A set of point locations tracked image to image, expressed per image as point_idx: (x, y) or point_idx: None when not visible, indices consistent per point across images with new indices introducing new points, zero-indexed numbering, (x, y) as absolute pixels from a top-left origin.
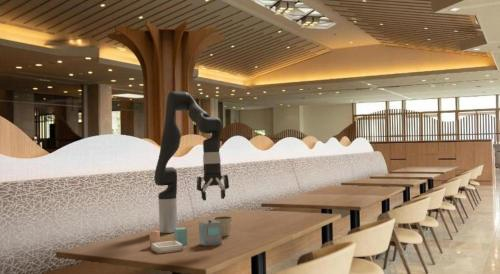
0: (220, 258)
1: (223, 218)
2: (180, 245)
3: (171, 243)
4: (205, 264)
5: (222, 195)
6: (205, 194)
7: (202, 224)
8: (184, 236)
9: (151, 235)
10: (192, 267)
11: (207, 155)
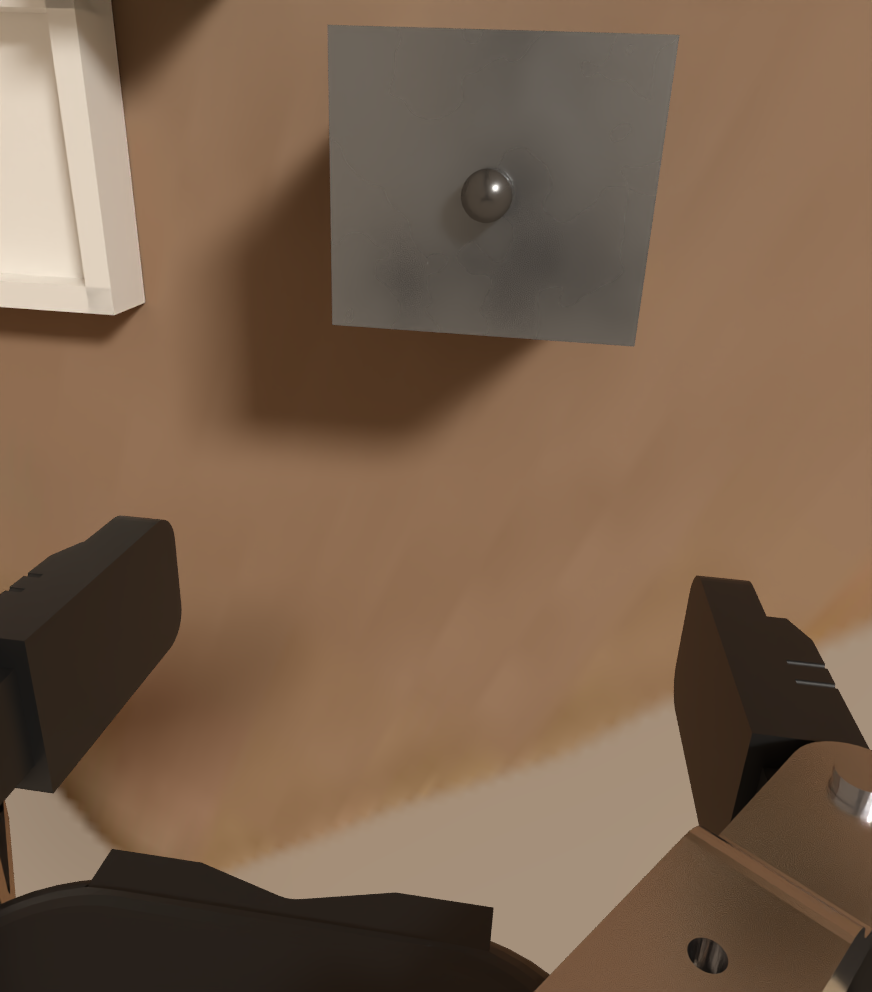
0: (342, 753)
1: None
2: (87, 311)
3: (28, 10)
4: (195, 816)
5: (688, 740)
6: (88, 730)
7: (336, 232)
8: None
9: None
10: (103, 824)
11: None
